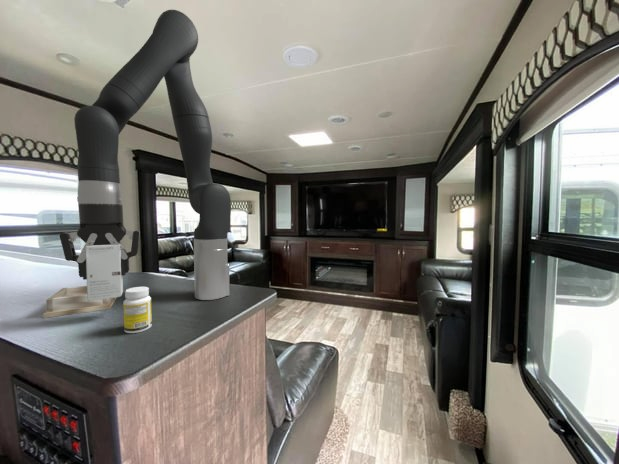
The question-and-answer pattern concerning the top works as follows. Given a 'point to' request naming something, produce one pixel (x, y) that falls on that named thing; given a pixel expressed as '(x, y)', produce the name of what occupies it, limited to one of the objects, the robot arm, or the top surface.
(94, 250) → the skincare box
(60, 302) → the wooden tray
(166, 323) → the top surface
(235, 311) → the top surface
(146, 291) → the supplement bottle
